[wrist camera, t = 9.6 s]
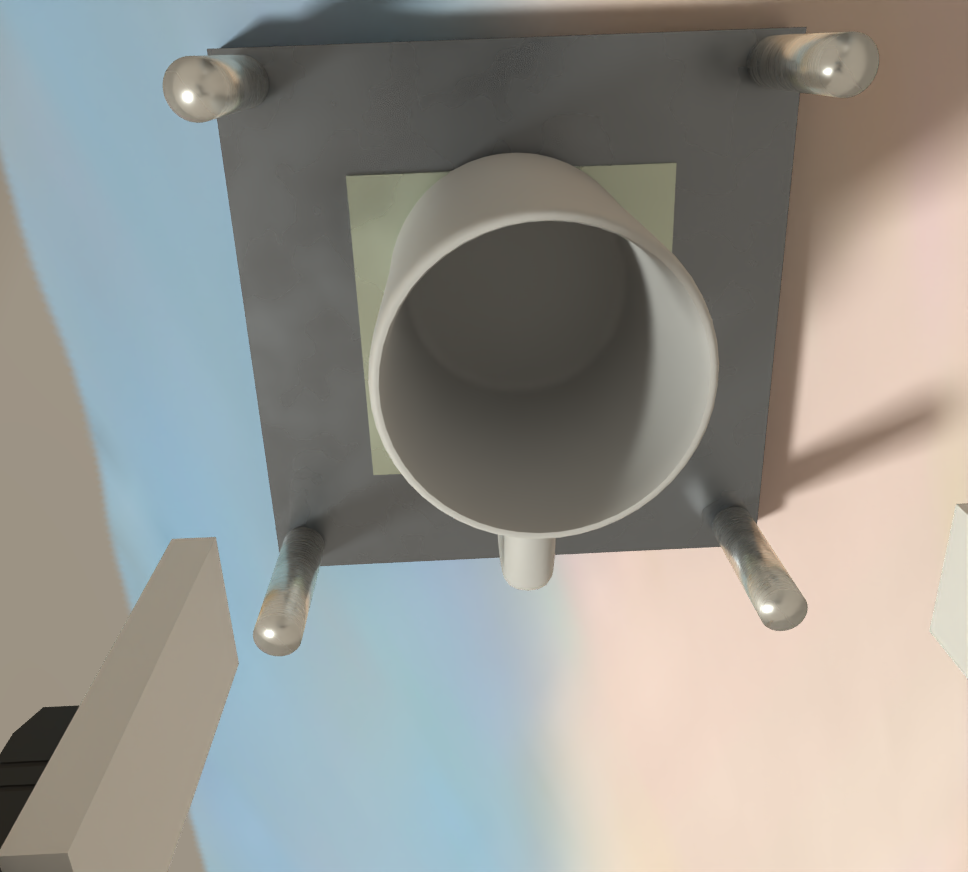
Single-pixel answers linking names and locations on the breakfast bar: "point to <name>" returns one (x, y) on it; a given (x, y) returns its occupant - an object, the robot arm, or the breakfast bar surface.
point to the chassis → (433, 154)
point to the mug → (537, 357)
